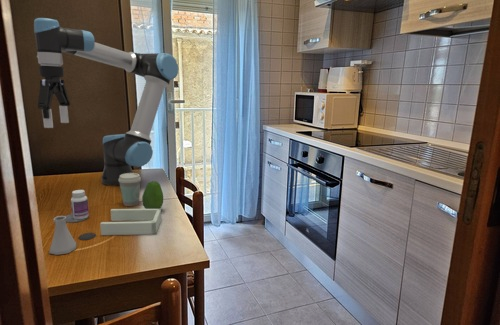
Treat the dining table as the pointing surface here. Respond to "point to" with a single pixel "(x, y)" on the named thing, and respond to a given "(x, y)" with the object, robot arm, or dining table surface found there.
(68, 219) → the coaster
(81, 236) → the hole pad
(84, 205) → the pill bottle
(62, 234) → the flask
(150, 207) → the fruit
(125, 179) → the coffee cup
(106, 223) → the frame
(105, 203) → the dining table surface
